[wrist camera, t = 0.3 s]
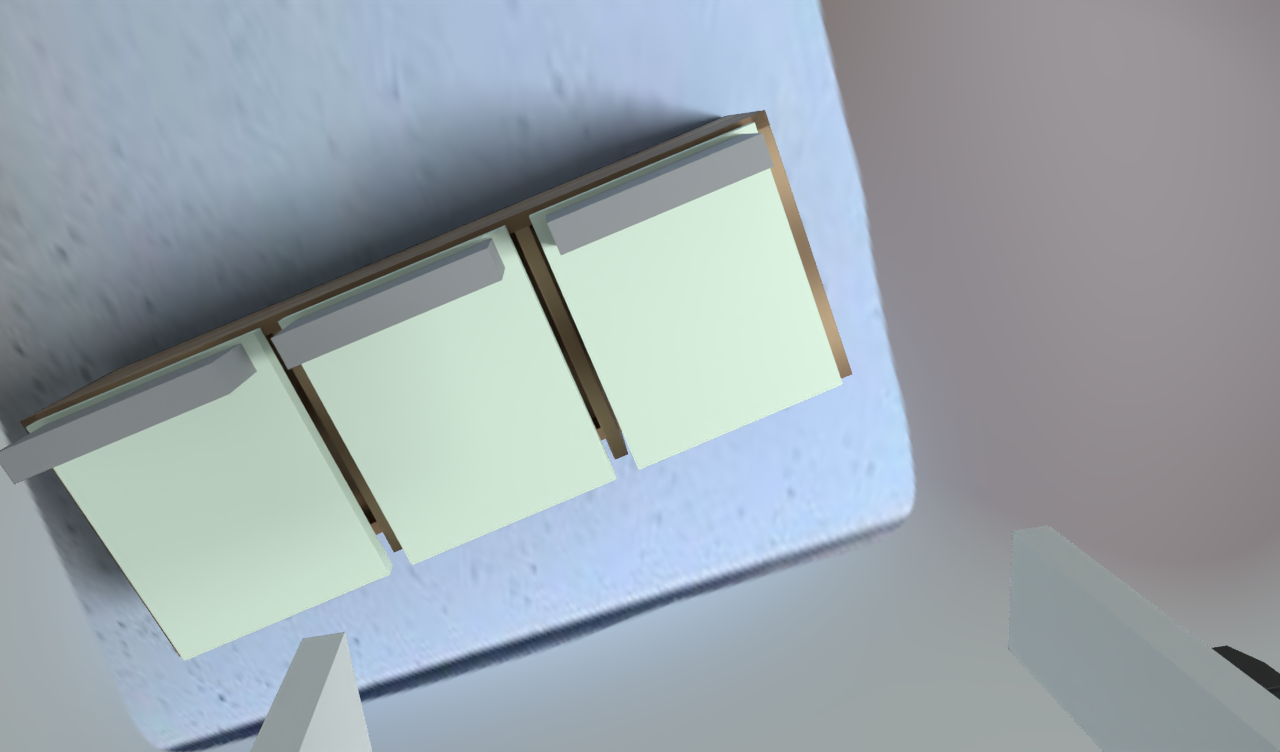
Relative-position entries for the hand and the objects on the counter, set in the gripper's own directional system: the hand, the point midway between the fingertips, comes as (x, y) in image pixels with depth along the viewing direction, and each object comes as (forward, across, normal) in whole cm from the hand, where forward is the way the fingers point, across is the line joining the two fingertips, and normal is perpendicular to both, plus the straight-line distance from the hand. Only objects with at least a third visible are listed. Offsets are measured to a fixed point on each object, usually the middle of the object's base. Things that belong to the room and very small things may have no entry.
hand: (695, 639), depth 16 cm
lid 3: (+19, +4, +3) cm, 19 cm away
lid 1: (+19, -16, -3) cm, 25 cm away
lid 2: (+19, -6, 0) cm, 20 cm away
